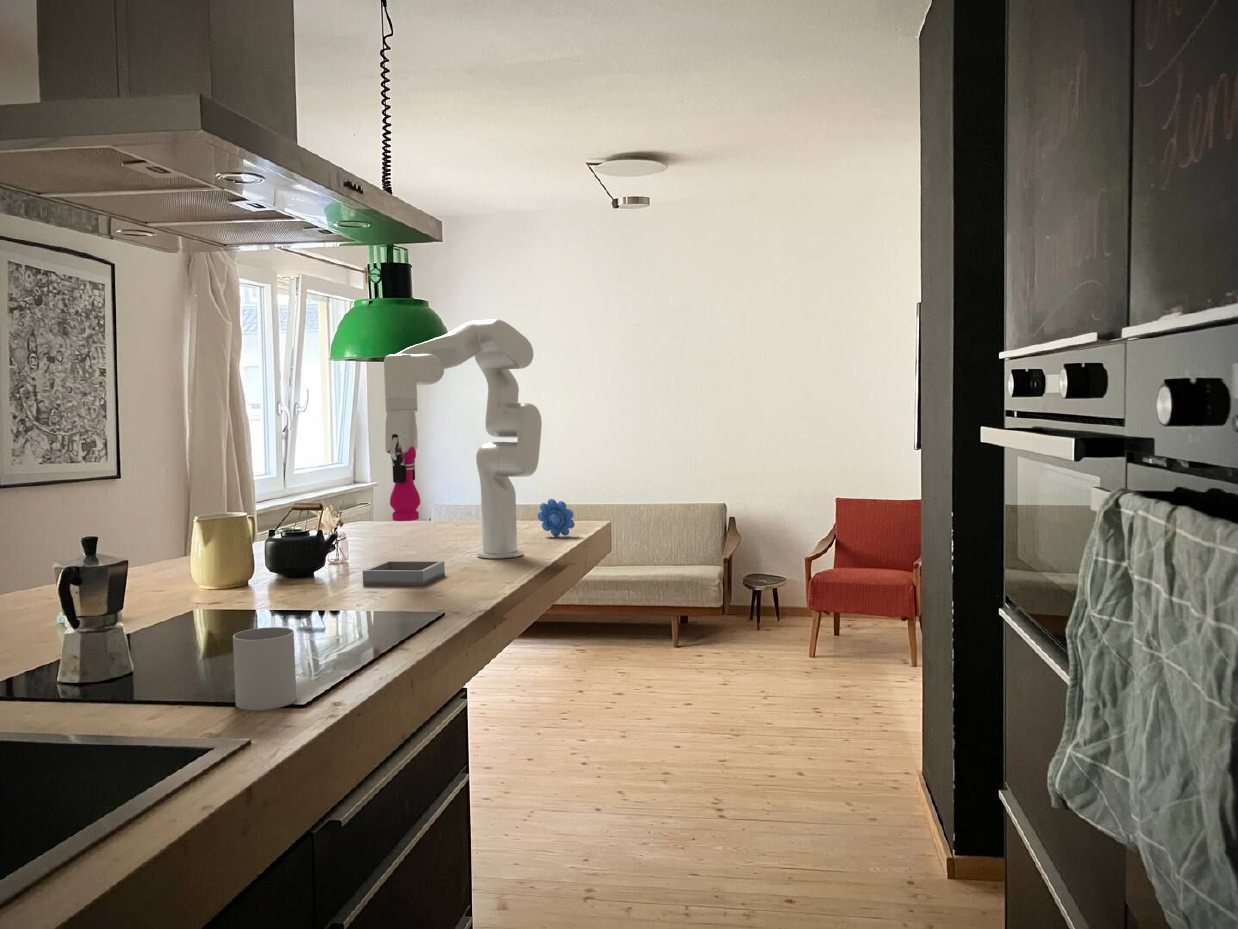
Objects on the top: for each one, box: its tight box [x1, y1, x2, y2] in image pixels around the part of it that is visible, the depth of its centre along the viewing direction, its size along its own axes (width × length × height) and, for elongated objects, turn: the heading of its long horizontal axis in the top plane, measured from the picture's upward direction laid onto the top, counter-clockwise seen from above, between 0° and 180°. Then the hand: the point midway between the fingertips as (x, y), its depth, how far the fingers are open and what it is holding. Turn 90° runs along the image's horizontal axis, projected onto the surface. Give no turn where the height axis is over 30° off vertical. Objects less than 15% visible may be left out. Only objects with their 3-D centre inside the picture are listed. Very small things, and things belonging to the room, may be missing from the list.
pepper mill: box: [389, 446, 421, 522], centre depth 249 cm, size 7×7×20 cm
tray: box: [362, 560, 446, 587], centre depth 251 cm, size 15×15×4 cm
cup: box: [232, 626, 297, 711], centre depth 150 cm, size 8×8×10 cm
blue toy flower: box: [537, 498, 575, 537], centre depth 324 cm, size 12×7×12 cm, turn 86°
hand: (404, 480), depth 249 cm, fingers closed on pepper mill, 5 cm apart
